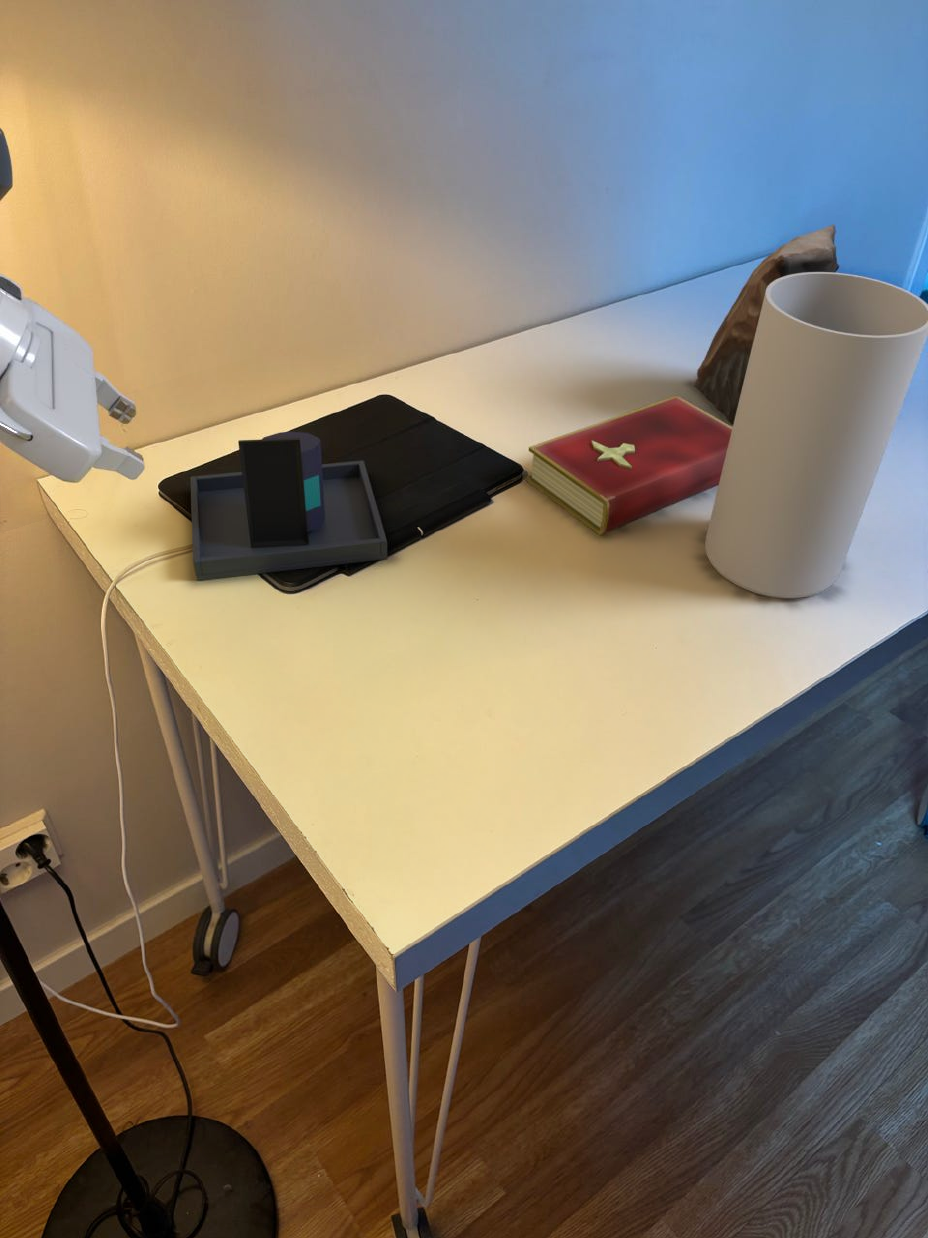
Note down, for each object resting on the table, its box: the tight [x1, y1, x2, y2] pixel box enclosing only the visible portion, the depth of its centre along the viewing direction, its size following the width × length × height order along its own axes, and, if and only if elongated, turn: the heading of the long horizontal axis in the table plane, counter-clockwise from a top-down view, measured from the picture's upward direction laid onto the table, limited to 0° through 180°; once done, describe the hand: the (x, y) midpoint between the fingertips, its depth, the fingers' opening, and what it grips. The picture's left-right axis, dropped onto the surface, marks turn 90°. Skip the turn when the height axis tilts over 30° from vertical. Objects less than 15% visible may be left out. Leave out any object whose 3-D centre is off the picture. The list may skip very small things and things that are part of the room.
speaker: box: [237, 431, 325, 548], centre depth 87 cm, size 8×6×10 cm
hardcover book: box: [525, 395, 733, 536], centre depth 99 cm, size 12×21×4 cm, turn 125°
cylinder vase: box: [704, 272, 928, 599], centre depth 82 cm, size 12×12×25 cm
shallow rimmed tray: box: [190, 460, 388, 582], centre depth 91 cm, size 17×14×2 cm
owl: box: [693, 224, 840, 425], centre depth 106 cm, size 13×13×20 cm
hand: (136, 441), depth 81 cm, fingers open, 8 cm apart
